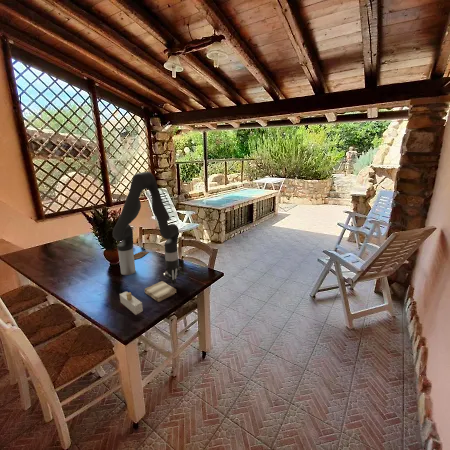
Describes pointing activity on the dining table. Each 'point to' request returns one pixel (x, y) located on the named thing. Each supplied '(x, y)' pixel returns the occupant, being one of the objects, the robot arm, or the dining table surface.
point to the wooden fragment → (139, 255)
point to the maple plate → (160, 291)
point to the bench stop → (131, 302)
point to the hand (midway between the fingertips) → (173, 284)
